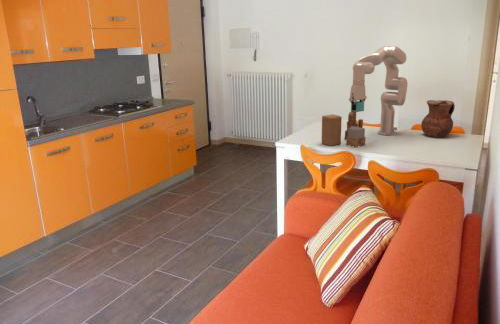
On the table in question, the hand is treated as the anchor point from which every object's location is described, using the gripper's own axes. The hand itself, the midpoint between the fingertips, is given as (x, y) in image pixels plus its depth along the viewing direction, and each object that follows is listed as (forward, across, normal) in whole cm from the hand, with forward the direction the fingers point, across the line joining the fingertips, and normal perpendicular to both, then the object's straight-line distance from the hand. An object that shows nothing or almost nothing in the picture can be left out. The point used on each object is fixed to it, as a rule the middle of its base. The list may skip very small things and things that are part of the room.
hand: (357, 109), depth 274 cm
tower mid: (+19, 0, 0) cm, 19 cm away
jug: (+25, -65, +16) cm, 72 cm away
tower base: (+25, 0, 0) cm, 25 cm away
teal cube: (+1, 0, 0) cm, 1 cm away
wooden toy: (+25, -14, -16) cm, 33 cm away
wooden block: (+25, +11, -13) cm, 30 cm away
